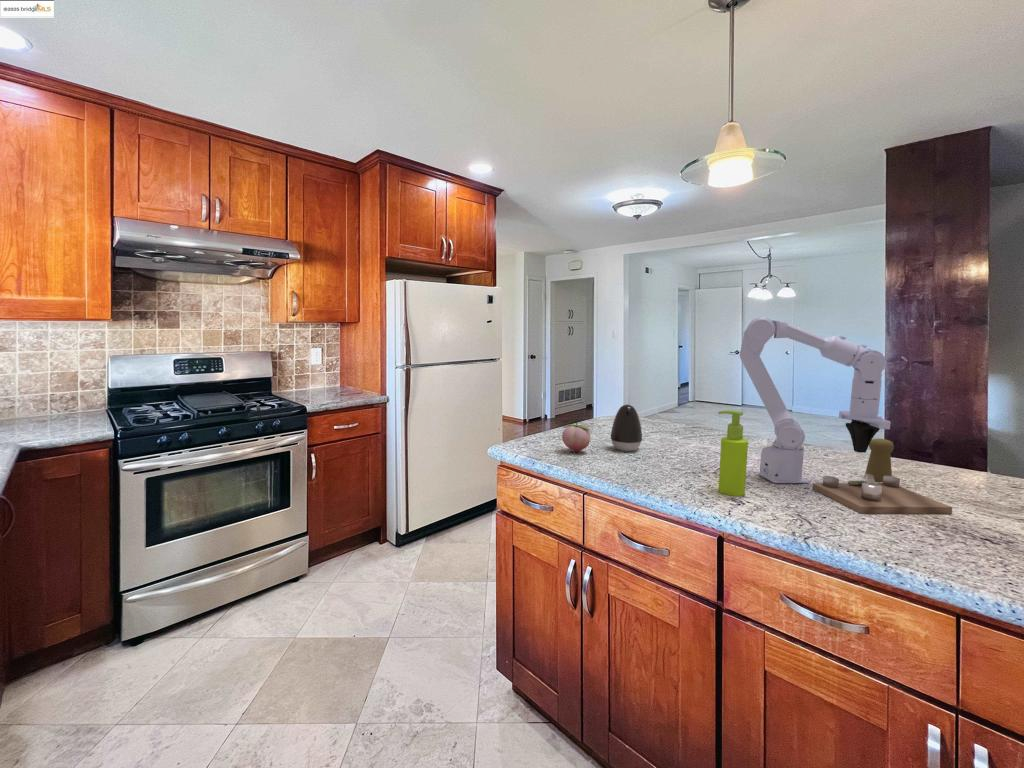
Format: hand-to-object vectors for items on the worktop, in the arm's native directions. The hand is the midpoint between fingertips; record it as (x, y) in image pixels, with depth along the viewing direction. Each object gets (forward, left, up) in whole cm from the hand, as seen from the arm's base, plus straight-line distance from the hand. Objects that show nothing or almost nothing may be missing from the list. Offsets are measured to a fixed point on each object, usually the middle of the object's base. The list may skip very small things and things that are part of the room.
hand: (859, 451), depth 117 cm
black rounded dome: (-49, +38, -10) cm, 63 cm away
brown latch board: (-2, -9, -9) cm, 13 cm away
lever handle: (-3, -8, -8) cm, 12 cm away
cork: (+11, +7, -10) cm, 16 cm away
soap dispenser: (-34, -3, -10) cm, 35 cm away
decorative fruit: (-66, +35, -10) cm, 75 cm away
